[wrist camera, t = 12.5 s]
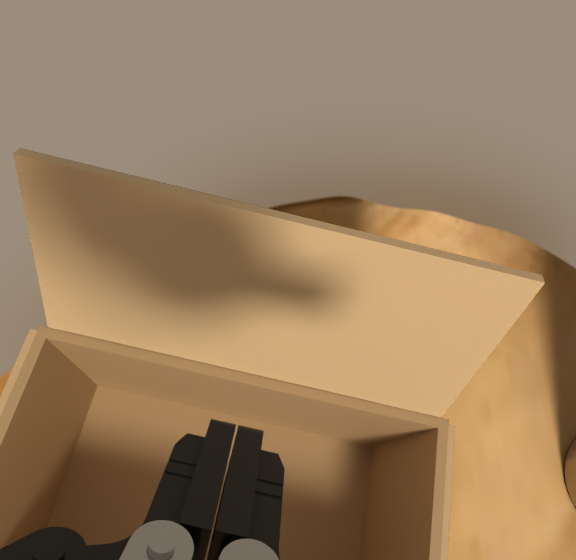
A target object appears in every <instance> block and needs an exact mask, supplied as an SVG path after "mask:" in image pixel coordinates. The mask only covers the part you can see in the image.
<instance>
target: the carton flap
mask: <svg viewBox="0 0 576 560" xmlns="http://www.w3.org/2000/svg"><path fill="white" fill-rule="evenodd" d="M14 159H15V164H16V169H17V174H18V179H19V184H20V189H21V194H22V199H23V205H24V210H25V215H26V220H27V225H28V229H29V235H30V240H31V245H32V250H33V255H34V260H35V265H36V270H37V274H38V280H39V285H40V289H41V294H42V300H43V305H44V310H45V314H46V320H47V325H48V327H50V328H54V329H59V330H63V331H67V332H72V333H76V334H80V335H85V336H89V337H94V338H98V339H102V340H107V341H111V342H115V343H120V344H124V345H128V346H133V347H137V348H141V349H146V350H150V351H155V352H159V353H163V354H168V355H172V356H176V357H181V358H185V359H189V360H194V361H198V362H202V363H207V364H211V365H216V366H220V367H224V368H229V369H233V370H237V371H242V372H246V373H250V374H255V375H259V376H263V377H268V378H272V379H277V380H281V381H285V382H290V383H294V384H298V385H303V386H307V387H311V388H316V389H320V390H324V391H329V392H333V393H338V394H342V395H346V396H351V397H355V398H359V399H364V400H368V401H372V402H377V403H381V404H385V405H390V406H394V407H399V408H403V409H407V410H412V411H416V412H420V413H425V414H429V415H433V416H438V417H442V416H443V415H444V413H445V412H446V411H447V409H448V408H449V407H450V405H451V404H452V403H453V402H454V400H455V399H456V398H457V396H458V395H459V394H460V393H461V391H462V390H463V389H464V387H465V386H466V385H467V383H468V382H469V381H470V380H471V378H472V377H473V376H474V374H475V373H476V372H477V370H478V369H479V368H480V367H481V365H482V364H483V363H484V361H485V360H486V359H487V357H488V356H489V355H490V354H491V352H492V351H493V350H494V348H495V347H496V346H497V345H498V343H499V342H500V341H501V339H502V338H503V337H504V335H505V334H506V333H507V332H508V330H509V329H510V328H511V326H512V325H513V324H514V322H515V321H516V320H517V319H518V317H519V316H520V315H521V313H522V312H523V311H524V309H525V308H526V307H527V306H528V304H529V303H530V302H531V300H532V299H533V298H534V297H535V295H536V294H537V293H538V291H539V290H540V289H541V287H542V286H543V285H544V284H545V281H544V279H543V276H542V275H539V274H535V273H531V272H527V271H523V270H519V269H515V268H511V267H507V266H502V265H498V264H494V263H490V262H486V261H482V260H478V259H474V258H470V257H466V256H461V255H457V254H453V253H449V252H445V251H441V250H437V249H433V248H429V247H424V246H420V245H416V244H412V243H408V242H404V241H400V240H396V239H392V238H387V237H383V236H379V235H375V234H371V233H367V232H363V231H359V230H355V229H350V228H346V227H342V226H338V225H334V224H330V223H326V222H322V221H318V220H314V219H309V218H305V217H301V216H297V215H293V214H289V213H285V212H281V211H277V210H272V209H268V208H264V207H260V206H256V205H252V204H248V203H244V202H240V201H235V200H231V199H227V198H223V197H219V196H215V195H211V194H207V193H202V192H198V191H194V190H190V189H186V188H182V187H178V186H174V185H170V184H166V183H161V182H157V181H153V180H149V179H145V178H140V177H136V176H133V175H128V174H125V173H120V172H116V171H112V170H108V169H104V168H99V167H96V166H92V165H87V164H83V163H79V162H75V161H71V160H67V159H63V158H59V157H54V156H50V155H46V154H42V153H38V152H34V151H30V150H26V149H22V148H19V149H18V150H17V151H16V152H15V153H14Z"/></svg>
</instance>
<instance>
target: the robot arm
mask: <svg viewBox="0 0 576 560" xmlns="http://www.w3.org/2000/svg"><path fill="white" fill-rule="evenodd" d="M235 428H236V424H232V423H228V422H223V421H219V420H215V419H211V420H210V423H209V427H208V430H207V433H206V436H205V437H202V436H198V435H193V434H189V433H187V434H186V435H185V436H184V437H182V438H181V439H180V440H179V441H178V442H177V443H176V444H175V445H174V447H173V450H172V452H171V455H170V457H169V461H168V463H167V465H166V468H165V470H164V474H163V475H162V478H161V480H160V483H159V485H158V488H157V490H156V493H155V496H154V498H153V501H152V503H151V506H150V508H149V511H148V513H147V516H146V518H145V520H144V522H143V524H142V525H141V526H140V527H139V528H138V529H137V530H136V531H135V532H134V533H133V534H132V535H131V536H129V537H127V538H126V539H123V540H121V541H118V542H114V543H109V544H99V545H87V546H86V543H85V541H84V539H83V538H82V537H81V535H80V534H78V533H77V532H76V531H74V530H72V529H69V528H65V527H48V528H43V529H40V530H37V531H35V532H33V533H31V534H29V535H27V536H25V537H23V538H21V539H19V540H17V541H15V542H13V543H11V544H9V545H7V546H5V547H3V548H1V549H0V560H205V556H206V552H207V548H208V544H209V540H210V536H211V532H212V527H213V523H214V519H215V515H216V510H217V506H218V502H219V497H220V493H221V489H222V484H223V480H224V476H225V471H226V467H227V463H228V458H229V454H230V450H231V445H232V441H233V437H234V432H235ZM263 433H264V431H263V430H259V429H254V428H250V427H246V426H241V425H238V429H237V433H236V437H235V441H234V445H233V449H232V453H231V457H230V461H229V465H228V469H227V473H226V477H225V482H224V486H223V490H222V495H221V499H220V503H219V508H218V512H217V517H216V521H215V525H214V530H213V534H212V539H211V543H210V547H209V552H208V556H207V560H280V556H279V539H280V525H281V512H282V498H283V485H284V471H285V469H284V466H283V464H282V461H281V459H280V457H279V454H277V453H273V452H268V451H264V450H261V447H262V440H263ZM565 479H566V485H567V489H568V492H569V495H570V498H571V500H572V502H573V504H574V506H575V508H576V439H575V440H574V441H573V443H572V445H571V446H570V448H569V450H568V453H567V456H566V460H565Z"/></svg>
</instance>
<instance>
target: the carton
mask: <svg viewBox="0 0 576 560" xmlns="http://www.w3.org/2000/svg"><path fill="white" fill-rule="evenodd" d="M211 419H215V420H219V421H223V422H228V423H232V424H236V428H235V432H234V437H233V441H232V445H231V450H230V454H229V458H228V463H227V467H226V471H225V476H224V480H223V484H222V489H221V493H220V497H219V502H218V506H217V510H216V515H215V519H214V523H213V527H212V532H211V536H210V540H209V544H208V548H207V552H206V556H205V560H207V556H208V552H209V547H210V543H211V539H212V534H213V530H214V525H215V521H216V517H217V512H218V508H219V503H220V499H221V495H222V490H223V486H224V482H225V477H226V473H227V469H228V465H229V461H230V457H231V453H232V449H233V445H234V441H235V437H236V433H237V429H238V425H241V426H246V427H250V428H254V429H259V430H263V431H264V433H263V440H262V447H261V450H264V451H268V452H273V453H277V454H279V457H280V459H281V461H282V464H283V466H284V469H285V471H284V485H283V498H282V512H281V525H280V539H279V556H280V560H448V549H449V530H450V512H451V494H452V476H453V457H454V439H455V426H452V425H449V419H445V418H440V417H436V416H432V415H427V414H423V413H419V412H414V411H410V410H405V409H401V408H397V407H392V406H388V405H384V404H379V403H375V402H371V401H366V400H362V399H358V398H353V397H349V396H344V395H340V394H336V393H331V392H327V391H323V390H318V389H314V388H310V387H305V386H301V385H297V384H292V383H288V382H283V381H279V380H275V379H270V378H266V377H262V376H257V375H253V374H249V373H244V372H240V371H236V370H231V369H227V368H222V367H218V366H214V365H209V364H205V363H201V362H196V361H192V360H188V359H183V358H179V357H174V356H170V355H166V354H161V353H157V352H153V351H148V350H144V349H140V348H135V347H131V346H127V345H122V344H118V343H113V342H109V341H105V340H100V339H96V338H92V337H87V336H83V335H79V334H74V333H70V332H66V331H61V330H57V329H52V328H48V327H44V326H39V328H38V330H33V329H30V331H29V333H28V336H27V338H26V340H25V342H24V345H23V347H22V349H21V351H20V354H19V356H18V358H17V360H16V363H15V365H14V367H13V370H12V372H11V374H10V376H9V379H8V381H7V383H6V385H5V388H4V390H3V392H2V395H1V397H0V549H1V548H3V547H5V546H7V545H9V544H11V543H13V542H15V541H17V540H19V539H21V538H23V537H25V536H27V535H29V534H31V533H33V532H35V531H37V530H40V529H43V528H48V527H65V528H69V529H72V530H74V531H76V532H77V533H78V534H80V535H81V537H82V538H83V539H84V541H85V543H86V546H87V545H99V544H109V543H114V542H118V541H121V540H123V539H126V538H127V537H129V536H131V535H132V534H133V533H134V532H135V531H136V530H137V529H138V528H139V527H140V526H141V525H142V524H143V522H144V520H145V518H146V516H147V513H148V511H149V508H150V506H151V503H152V501H153V498H154V496H155V493H156V490H157V488H158V485H159V483H160V480H161V478H162V475H163V474H164V470H165V468H166V465H167V463H168V461H169V457H170V455H171V452H172V450H173V447H174V445H175V444H176V443H177V442H178V441H179V440H180V439H181V438H182V437H184V436H185V435H186V434H187V433H189V434H193V435H198V436H202V437H205V436H206V433H207V430H208V427H209V423H210V420H211Z"/></svg>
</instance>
